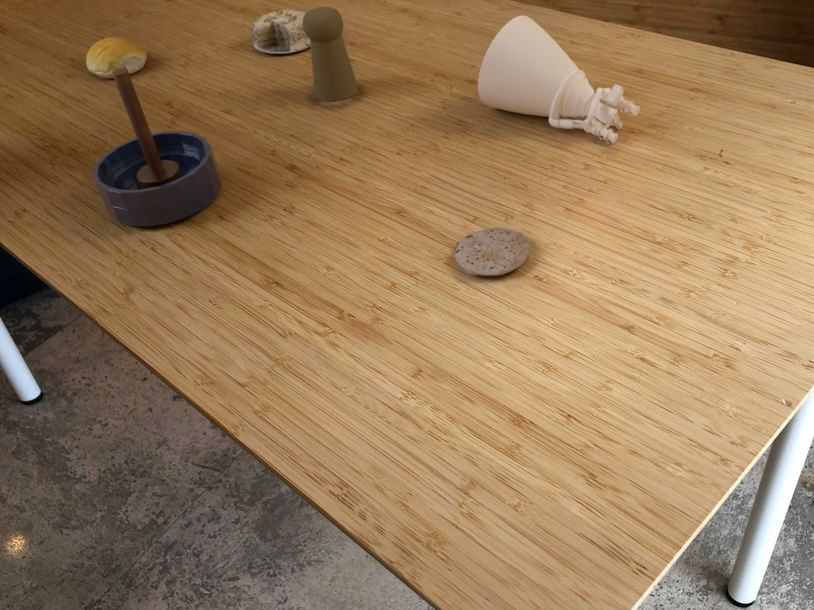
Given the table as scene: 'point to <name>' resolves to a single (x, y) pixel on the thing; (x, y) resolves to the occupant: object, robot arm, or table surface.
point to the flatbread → (492, 251)
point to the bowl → (165, 201)
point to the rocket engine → (546, 82)
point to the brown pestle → (144, 137)
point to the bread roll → (115, 57)
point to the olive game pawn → (329, 55)
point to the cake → (280, 32)
